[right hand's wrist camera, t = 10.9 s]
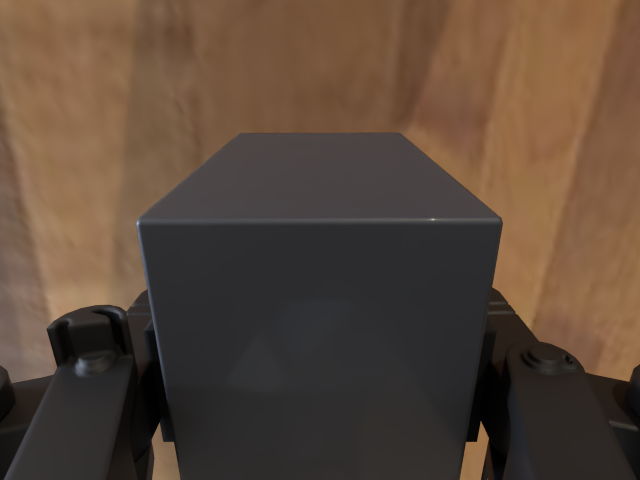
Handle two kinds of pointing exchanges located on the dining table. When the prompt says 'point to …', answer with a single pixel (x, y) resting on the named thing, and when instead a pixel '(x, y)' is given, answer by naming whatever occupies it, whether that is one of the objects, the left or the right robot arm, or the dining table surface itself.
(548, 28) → the dining table surface
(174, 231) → the beam
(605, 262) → the dining table surface
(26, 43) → the dining table surface
